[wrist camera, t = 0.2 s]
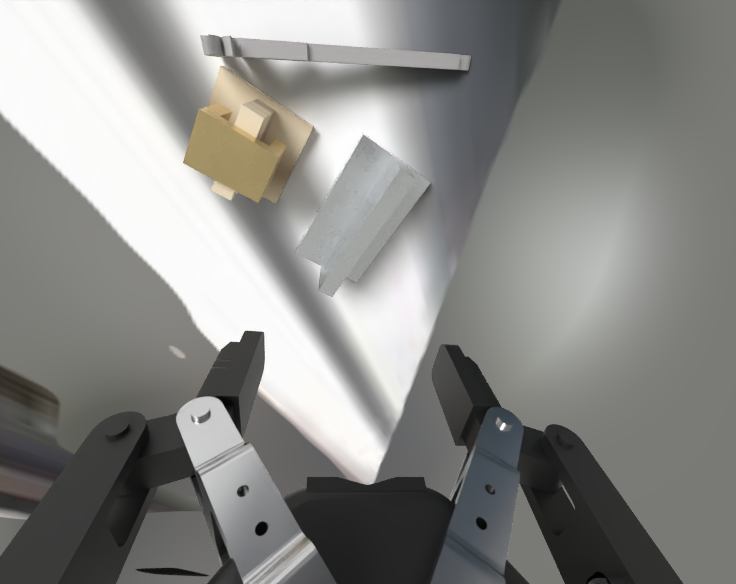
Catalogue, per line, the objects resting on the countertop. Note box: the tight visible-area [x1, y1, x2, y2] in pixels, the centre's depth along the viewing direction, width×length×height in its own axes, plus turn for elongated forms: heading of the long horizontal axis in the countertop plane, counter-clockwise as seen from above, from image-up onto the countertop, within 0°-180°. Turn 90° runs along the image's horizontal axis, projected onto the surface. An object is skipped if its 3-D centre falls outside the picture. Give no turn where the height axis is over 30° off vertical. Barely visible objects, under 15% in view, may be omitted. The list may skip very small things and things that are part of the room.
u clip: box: [183, 103, 287, 203], centre depth 24 cm, size 4×6×4 cm
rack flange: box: [295, 133, 431, 297], centre depth 30 cm, size 14×8×6 cm, turn 147°
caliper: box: [200, 35, 471, 70], centre depth 22 cm, size 20×1×6 cm, turn 88°
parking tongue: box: [208, 66, 313, 204], centre depth 25 cm, size 8×8×6 cm
